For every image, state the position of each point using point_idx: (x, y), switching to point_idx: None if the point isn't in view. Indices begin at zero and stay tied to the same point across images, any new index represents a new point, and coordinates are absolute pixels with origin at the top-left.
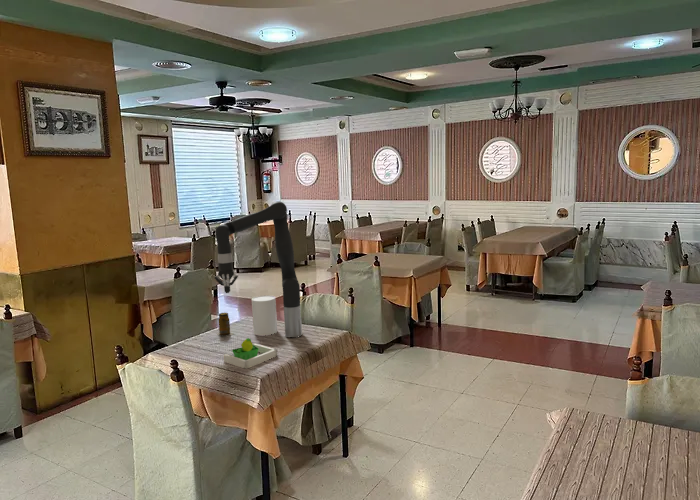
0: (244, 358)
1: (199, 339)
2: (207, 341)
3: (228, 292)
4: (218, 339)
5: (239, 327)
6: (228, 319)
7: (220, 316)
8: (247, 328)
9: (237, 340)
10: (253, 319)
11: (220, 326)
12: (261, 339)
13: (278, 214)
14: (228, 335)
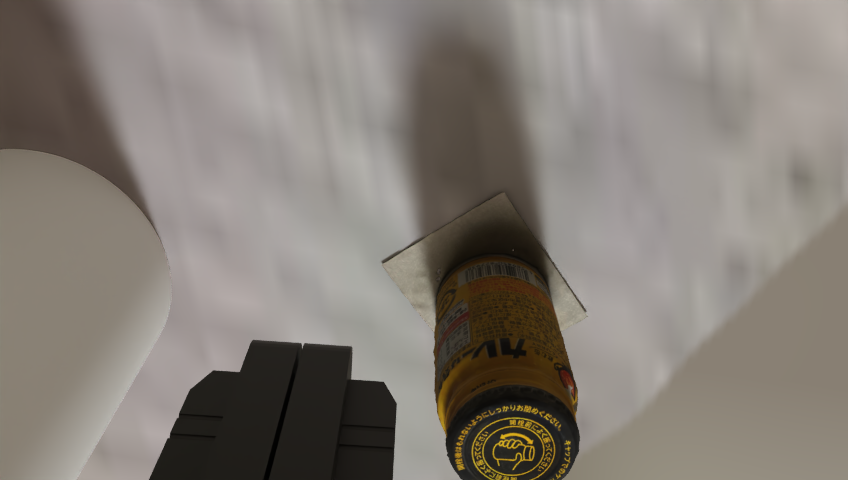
0: None
1: (763, 163)
2: (667, 69)
3: (251, 348)
4: (543, 118)
5: None
6: (442, 380)
7: (550, 391)
8: None
9: (306, 32)
10: (82, 307)
11: (541, 311)
12: (11, 9)
13: None
14: (443, 233)
